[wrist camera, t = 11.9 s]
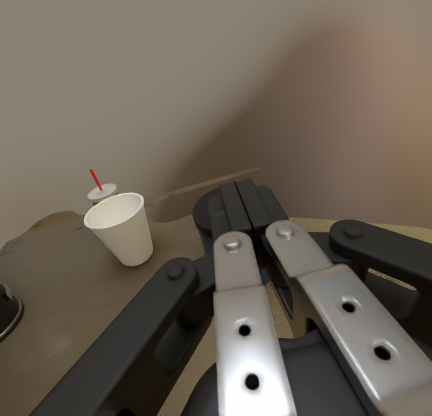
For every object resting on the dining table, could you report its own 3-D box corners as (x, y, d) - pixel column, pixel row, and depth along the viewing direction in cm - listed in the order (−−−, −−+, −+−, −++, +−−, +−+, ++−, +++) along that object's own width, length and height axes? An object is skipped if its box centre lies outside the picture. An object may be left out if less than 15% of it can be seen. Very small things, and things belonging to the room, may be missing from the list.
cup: (151, 230, 53) (131, 186, 46) (172, 254, 45) (153, 206, 39) (106, 255, 49) (78, 211, 42) (121, 286, 41) (90, 237, 35)
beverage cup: (101, 233, 55) (68, 179, 47) (113, 216, 60) (85, 164, 52) (125, 231, 54) (96, 175, 46) (136, 214, 59) (111, 161, 51)
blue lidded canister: (287, 284, 36) (285, 219, 29) (213, 300, 36) (194, 240, 29) (265, 235, 45) (260, 177, 38) (206, 248, 45) (190, 193, 38)
